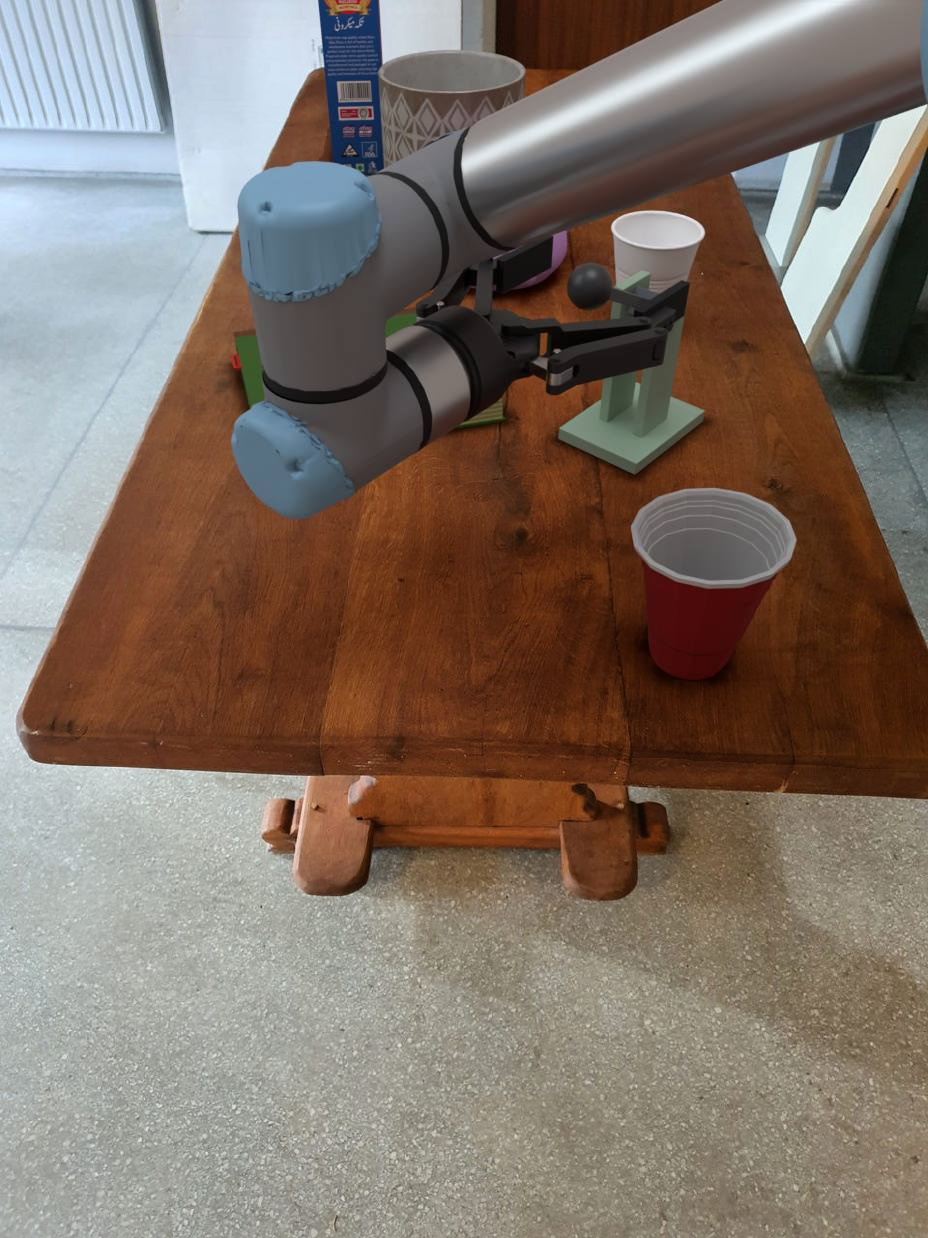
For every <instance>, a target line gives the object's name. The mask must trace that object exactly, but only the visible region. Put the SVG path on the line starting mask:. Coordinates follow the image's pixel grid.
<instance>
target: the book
mask: <svg viewBox="0 0 928 1238" xmlns="http://www.w3.org/2000/svg"><path fill="white" fill-rule="evenodd" d="M415 323H416V307H409V308H404V309H403V310H401V311H400V312H398V313H397V314H395V315H394V316H392V317H391V318H389V319H388V320H387V321H386V324H385V334H386V338H387V337H388V336H390V335H392V334H394V333H396V332H398V331H399V330H401V329H403V328H406V327H410V326H412V325H413V324H415ZM232 333H233V336H234V342H235V348H236V349H235V350H236V354H231V355H230V358H231V363H232V367H233V368H232V369H233V371H240V372H241V377H242V383H243V385H244V390H245V394H246V399H247V403H248V407H249V410H250V409H251V407H252V405H253V404H257V403H259V402H261V401H264V400H265V393H264V388H263V383H262V372H263V370H262V363H261V357H260V352H259V346H258V341H257V335H256V330H255V328H254V329H247V330H241V331H233V332H232ZM503 406H504V395H503V396H502V397H501V399H500V400H499V401H498V402H496V403H495V404H494V405H492V406H490V407H489V408H487V409H486V410H484V411H482V412H481V413H479V414H478V415H476V416H474V417H473V418H471V419H470V420H468V421H466V422H462V423H461V425H459V426H458V427H456V428H454V429H453V430H452V431H454V430H459V429H460V430H461V429H467V428H472V427H478V426H485V425H491V424H496V423H502V422H506V417H505V415H504V411H503V408H504V407H503Z"/></svg>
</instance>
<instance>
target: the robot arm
mask: <svg viewBox="0 0 928 1238" xmlns="http://www.w3.org/2000/svg"><path fill="white" fill-rule="evenodd" d="M924 106H928V0H720V1H719V2H716V3H714V4H712V5H711V6H708V7H706V8H704V9H703V10H701V11H698V12H695V13H694V14H692V15H689V16H688V17H686V18H684V19H682V20H680V21H678V22H676V23H674V24H672V25H670V26H668V27H666V28H664V29H662V30H660V31H658V32H655V33H653V34H651V35H650V36H647V37H645V38H643V39H641V40H639V41H637V42H635V43H633V44H631V45H630V46H627V47H625V48H623V49H621V50H618V51H617V52H615V53H613V54H610V55H609V56H607V57H605V58H602V59H600V60H599V61H597V62H595V63H593V64H591V65H588V66H587V67H584V68H582V69H581V70H578V71H576V72H574V73H572V74H570V75H568V76H566V77H564V78H562V79H559V80H558V81H556V82H554V83H552V84H550V85H548V86H545V87H544V88H541V89H540V90H538V91H536V92H533V93H532V94H529V95H527V96H525V98H523V99H521V100H519V101H517V102H515V103H513V104H511V105H509V106H507V107H505V108H503V109H501V110H499V111H497V112H495V113H493V114H491V115H489V116H487V117H485V118H483V119H481V120H480V121H478V122H477V123H475V124H473V125H471V126H468V127H465V128H463V129H461V130H459V131H454V132H450V133H448V134H446V135H443V136H441V137H439V138H437V139H436V140H434V141H432V142H430V143H428V144H426V145H425V146H423V147H422V148H420V149H419V150H418V151H416V152H414V153H412V154H410V155H408V156H406V157H404V158H403V159H401V160H399V161H397V162H395V163H393V164H392V165H390V166H388V167H386V168H384V169H383V170H381V171H379V172H377V173H375V174H369V175H368V176H366V175H363V174H362V173H361V172H360V171H358V170H356V169H354V168H351V167H348V166H345V165H340V164H338V163H333V162H331V161H317V160H316V161H315V160H314V161H312V160H311V161H297V162H293V163H292V164H290V165H287V166H274V167H270V168H268V169H265V170H263V171H260V172H259V173H256V174H255V175H254V176H253V177H251V178H250V179H248V181H247V182H246V183H245V184H244V186H243V187H242V188H241V191H240V193H239V195H238V198H237V206H236V207H237V219H238V228H239V229H238V237H239V246H240V254H241V258H240V266H241V272H242V277H243V278H244V281H245V282H246V288H247V293H248V297H249V298H248V299H249V303H250V307H251V313H252V319H253V324H254V329H255V330H256V335H257V341H258V346H259V352H260V357H261V363H262V370H263V372H262V383H263V388H264V393H265V400H264V401H261V402H259V403H257V404H253V405H252V407H251V409H250V408H249V409H248V410H247V411H245V412H244V413H242V414H240V416H239V417H237V418H236V420H235V421H234V425H233V433H232V435H231V437H230V438H231V441H230V442H231V450H232V454H233V457H234V460H235V464H236V466H237V468H238V470H239V473H240V475H241V476H242V479H243V480H244V482H245V483H246V485H247V486H248V488H249V490H250V491H251V492H252V493H253V494H254V496H255V497H256V498H257V499H258V500H259V501H260V502H261V503H262V504H263V505H264V506H265V507H267V508H268V509H270V510H273V511H274V512H276V513H277V514H278V515H279V516H281V517H283V518H287V519H290V520H294V521H295V520H297V521H300V520H305V519H310V518H312V517H313V516H315V515H318V514H319V513H321V512H323V511H326V510H327V509H329V508H330V507H333V506H335V505H336V504H339V503H341V502H342V501H346V500H349V499H351V498H352V497H353V496H354V495H355V493H357V492H358V491H359V490H361V489H362V488H364V487H366V486H367V485H369V484H370V483H371V482H373V481H374V480H376V479H377V478H379V477H380V476H382V475H384V474H385V473H387V472H388V471H390V470H392V469H393V468H394V467H396V466H397V465H399V464H400V463H402V462H403V461H405V460H407V459H408V458H410V457H412V456H413V455H415V454H416V453H418V452H420V451H422V449H424V448H425V447H428V445H431V444H432V443H433V442H436V441H437V440H439V439H440V438H442V437H443V436H446V434H448V433H449V432H451V431H454V430H453V429H454V428H456V427H458V426H459V425H461V423H462V422H466V421H468V420H470V419H471V418H473V417H474V416H476V415H478V414H479V413H481V412H482V411H484V410H486V409H487V408H489V407H490V406H492V405H494V404H495V403H496V402H498V401H499V400H500V399H501V397H502V396H503V397H504V395H505V394H506V392H507V390H508V389H509V388H510V386H511V385H512V384H513V383H514V382H515V381H519V380H523V379H527V378H530V377H532V376H533V377H537V378H538V379H540V380H542V381H544V382H545V393H546V394H547V395H550V396H559V395H561V394H563V393H565V392H567V391H569V390H571V389H573V388H575V387H576V386H580V385H585V384H589V383H592V382H597V381H601V380H604V379H605V378H610V377H614V376H618V375H622V374H626V373H630V372H635V371H637V372H639V371H642V370H643V369H647V368H651V367H655V366H659V365H662V364H663V361H664V355H665V349H666V343H667V336H668V333H669V332H670V331H672V328H673V324H674V322H676V321H677V320H679V319H680V318H682V317H683V316H684V317H685V315H686V311H685V310H687V305H686V304H688V299H689V293H690V287H689V286H691V282H689V281H683V280H681V281H679V282H678V283H676V284H675V285H673V286H671V287H670V288H668V289H667V290H665V291H663V292H662V293H660V294H659V295H657V296H655V297H654V298H652V299H651V300H649V301H647V302H646V303H644V304H643V305H641V306H639V307H638V308H636V309H635V310H634V315H633V317H630V318H619V319H611V318H609V319H599V320H598V319H597V320H586V321H573V322H562V323H561V322H559V321H558V319H557V318H555V317H545V318H534V319H531V318H528V317H524V316H520V315H517V314H516V313H515V312H513V311H511V310H509V309H507V308H502V309H497V308H496V309H494V308H493V295H494V294H493V293H494V291H493V286H494V285H496V291H495V292H497V293H498V294H502V295H504V294H506V293H508V292H510V291H512V290H511V289H513V288H515V287H517V286H519V285H521V284H522V283H524V282H526V281H528V280H530V279H532V278H534V277H535V276H537V275H539V274H541V273H543V272H545V271H547V270H548V269H550V268H552V252H553V237H554V236H552V235H555V234H557V233H560V232H563V231H566V230H569V229H571V230H573V229H575V228H578V227H579V226H580V227H581V226H583V225H586V224H589V223H591V222H595V221H598V220H601V219H604V218H606V217H609V216H612V215H615V214H617V213H620V212H624V211H626V210H628V209H629V210H630V209H631V208H635V207H638V206H640V205H643V204H646V203H650V202H653V201H654V200H657V199H660V198H664V197H666V196H669V195H672V194H675V193H677V192H680V191H683V190H687V189H689V188H692V187H694V186H698V185H701V184H703V183H707V182H709V181H712V180H715V179H717V178H721V177H723V176H726V175H729V174H732V173H734V172H738V171H740V170H744V169H746V168H750V167H753V166H754V165H757V164H758V165H759V164H760V163H764V162H767V161H769V160H772V159H774V158H778V157H780V156H784V155H786V154H789V153H792V152H795V151H797V150H801V149H803V148H806V147H809V146H813V145H815V144H818V143H820V142H824V141H826V140H829V139H833V138H835V137H837V136H841V135H843V134H847V133H849V132H852V131H855V130H858V129H860V128H864V127H866V126H870V125H872V124H875V123H878V122H881V121H883V120H887V119H889V118H892V117H895V116H898V115H900V114H904V113H906V112H910V111H912V110H915V109H918V108H921V107H924ZM523 245H524V246H523ZM521 246H522V247H521ZM519 247H520V248H519ZM517 248H518V249H517ZM514 249H516V250H514ZM512 250H514V251H512ZM509 251H512V252H509ZM502 254H503V255H502ZM499 255H501V256H499ZM496 256H499V257H497V258H495V259H493V257H496ZM471 286H475V287H476V289H475V294H474V295H475V296H474V306H473V308H471V307H468V306H465V305H461V304H462V303H463V301H464V299H465V298H466V296H467V295H468V293H469V291H470V290H471V289H472V288H471ZM431 291H432V292H431ZM429 292H431V294H429V295H428V296H426V297H424V296H425V295H426V294H428V293H429ZM688 292H689V293H688ZM422 297H424V298H423V299H421V300H419V299H420V298H422ZM687 298H688V299H687ZM418 300H419V301H418ZM416 301H418V302H417V303H415V308H416V323H415V324H413V325H412V326H410V327H406V328H403V329H401V330H399V331H398V332H396V333H394V334H392V335H390V336H388V337H387V338H386V334H385V324H386V321H387V320H388V319H389V318H391V317H392V316H394V315H395V314H397V313H398V312H400V311H401V310H403V309H407V307H408V306H410V305H411V304H413V303H414V302H416ZM541 334H547V335H546V348H545V352H544V354H541V353H540V352H541V339H542V338H541V337H542V335H541Z"/></svg>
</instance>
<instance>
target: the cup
mask: <svg viewBox="0 0 928 1238" xmlns="http://www.w3.org/2000/svg"><path fill="white" fill-rule="evenodd" d="M610 231H611V233H612V235H613V251H614V253H613V254H614V266H615V267H614V268H615V269H614V270H615V286H616V285H617V284H619V283H621V282H623V281H624V280H626V279H628V278H629V277H631V276H633V275H634V274H636V273H638V272H640V271H641V270H644V271H647V272H649V273H651V277H650V284H649V290H650V291H653V292H656V293H659V294H660V293H662V292H663V291H665V290H667V289H668V288H670V287H671V286H673V285H675V284H676V283H678V282H679V281H681V280H683V281H686V282H688V278H689V276H690V272H691V270H692V267H693V264H694V261H695V258H696V255H697V252H698V249H699V247H700V243H701V242H702V241H703V239H704V238H705V235H706V231H705V228H704V226H703V224H701V223H700V222H698V221H697V220H695V219H694V218H691V217H689V216H687V215H684V214H680V213H677V212H672V211H665V210H640V211H633V212H628V213H625V214H622V215H620V216H619V217H616V219H615V220H614V221H613V222H612V223H611V226H610Z"/></svg>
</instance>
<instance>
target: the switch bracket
mask: <svg viewBox="0 0 928 1238" xmlns="http://www.w3.org/2000/svg"><path fill="white" fill-rule="evenodd" d="M650 277H651V273H649V272H647V271H644V270H641V271H640V272H638V273H636V274H634V275H633V276H631V277H629V278H628V279H626V280H624V281H623V282H621V283H619V284H617V285H616V284H615V285H613V287H614V288H617V289H620V290H623V291H626V292H629V293H632V294H634V293H635V291H636V288H637V286H639V287H642V288H645V289H647V290H649V284H650ZM690 286H691V285H690ZM690 286H689V288H690ZM689 293H690V291H689V292H688V294H689ZM688 299H689V297H688V298H687V300H688ZM687 304H688V303H687ZM687 304H686V306H687ZM629 307H630V306H627V305H624V304H621V303H617V302H614V301H611V310H610V319H619V318H630V317H633V315H630V314H628V313H627V312H628V309H629ZM686 310H687V309H686ZM686 310H685V312H686ZM684 322H685V316H683V317H682V318H680V319H679V320H677V321H676V322H674V324H673V328H672V331H670V332H669V333H668V336H667V343H666V349H665V355H664V361H663V364H662V365H659V366H655V367H651V368H647V369H643V370H641V378H640V382H637V376H638V371H635V372H630V373H626V374H622V375H618V376H614V377H610V378H605V379H602V380H603V381H602V391H601V399H599V400H598V401H596V402H595V403H593V404H592V405H590V406H589V407H587V408H586V409H585V410H582V411H581V412H580V413H579V414H577V415H576V416H574V417H573V418H571V419H570V420H569V421H567V422H565V423H564V424H562V425H561V426H560V427H559V428H558V437H557V438H558V440H559V441H561V442H563V443H566V444H567V445H570V446H572V447H575V448H577V449H579V450H581V451H583V452H584V453H585V452H586V453H587V454H590V455H592V456H593V457H596V458H598V459H600V460H602V461H604V462H607V463H608V464H610V465H613V466H616V467H617V468H619V469H621V470H624V471H626V472H628V473H630V474H632V475H634V476H635V475H637V474H638V473H639V472H641V471H642V470H643V469H645V468H646V466H648V465H649V464H651V463H652V462H653V461H654V460H656V459H657V458H659V457H660V456H661V455H662V454H664V453H665V452H666V451H668V449H670V448H671V447H672V446H674V445H675V444H676V443H677V442H679V441H681V439H683V438H684V437H685V436H686V435H688V434H689V433H690V432H691V431H693V430H694V429H695V428H696V427H699V425H700V424H702V423H703V422H704V418H705V412H706V410H705V409H702V408H700V407H698V406H695V405H693V404H690V403H688V402H686V401H683V400H681V399H678V398H676V397H673V396H672V393H673V392H672V390H673V385H674V380H675V374H676V369H677V362H678V356H679V351H680V345H681V341H682V340H681V339H682V334H683V327H684Z"/></svg>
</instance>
